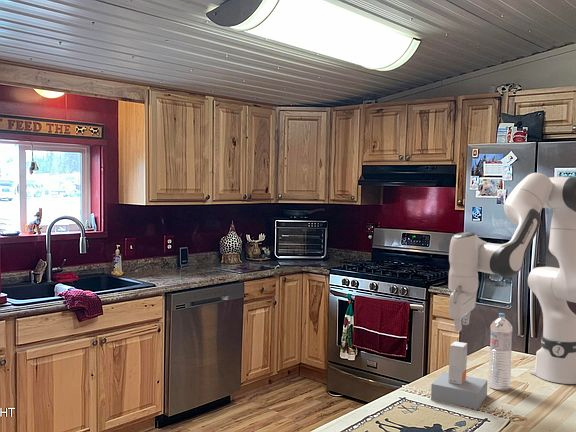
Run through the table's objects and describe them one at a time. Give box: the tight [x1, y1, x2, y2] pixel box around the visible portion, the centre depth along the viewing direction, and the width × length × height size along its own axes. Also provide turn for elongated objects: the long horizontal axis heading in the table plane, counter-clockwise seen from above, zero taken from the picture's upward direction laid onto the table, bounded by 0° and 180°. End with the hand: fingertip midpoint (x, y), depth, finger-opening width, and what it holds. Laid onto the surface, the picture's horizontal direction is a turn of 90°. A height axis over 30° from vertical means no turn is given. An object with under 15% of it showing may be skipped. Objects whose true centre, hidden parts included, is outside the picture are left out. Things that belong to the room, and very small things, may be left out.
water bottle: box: [488, 312, 513, 392], centre depth 182 cm, size 7×7×25 cm
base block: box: [430, 371, 488, 410], centre depth 172 cm, size 14×14×5 cm
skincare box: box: [448, 341, 468, 385], centre depth 172 cm, size 6×4×12 cm
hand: (462, 327), depth 172 cm, fingers open, 8 cm apart
